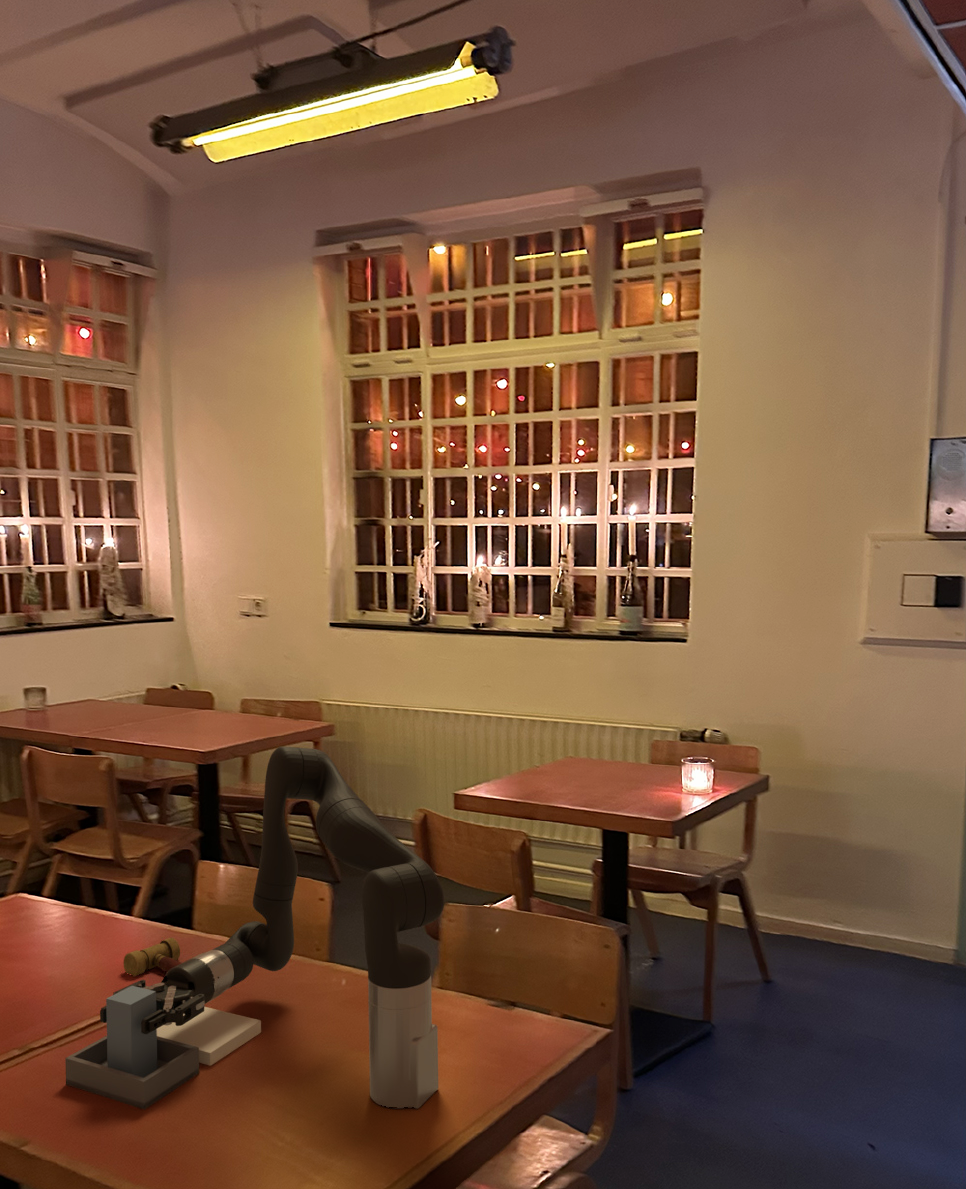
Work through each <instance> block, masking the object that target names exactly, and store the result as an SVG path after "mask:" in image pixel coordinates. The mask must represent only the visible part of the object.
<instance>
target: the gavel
mask: <svg viewBox="0 0 966 1189" xmlns="http://www.w3.org/2000/svg"><path fill="white" fill-rule="evenodd" d="M180 956H181V948H180V944H179V943H178V941H177V939H175V938H174V937H169V938H166V939H163V940H161V941H160V942H159V943H157V944H154V945H152V946H149V947H146V948H143V949H140V950H134V951H131V952H128V953H126V954H125V955H124V958H123V970H124V972H125V973H126V974H127V973H128V974H131V975H133V976H132V977H137V976H140V975H142V973H143V974H144V973H145V970H146V971H148V969H149V970H151V969H153V968H157V967H158V968H160V969H161V970H163V971H164V972H166V973H167V972H168V971H169V970H170V969H172V968H173V967H175V966H177V965H179V964H181V963H182V962H181V961H179V959H180ZM177 959H178V960H177ZM156 966H157V967H156ZM128 974H127V975H128ZM139 974H140V975H139ZM131 975H130V976H131Z"/></svg>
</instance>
